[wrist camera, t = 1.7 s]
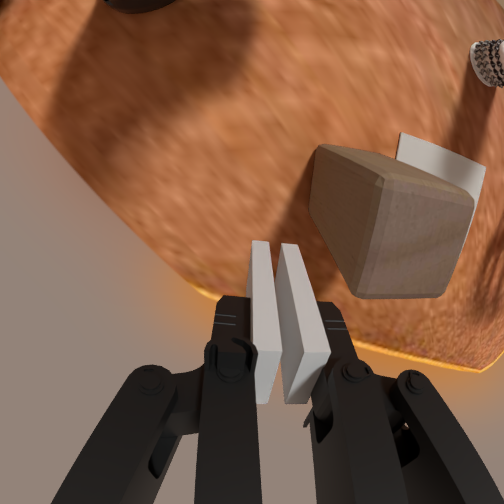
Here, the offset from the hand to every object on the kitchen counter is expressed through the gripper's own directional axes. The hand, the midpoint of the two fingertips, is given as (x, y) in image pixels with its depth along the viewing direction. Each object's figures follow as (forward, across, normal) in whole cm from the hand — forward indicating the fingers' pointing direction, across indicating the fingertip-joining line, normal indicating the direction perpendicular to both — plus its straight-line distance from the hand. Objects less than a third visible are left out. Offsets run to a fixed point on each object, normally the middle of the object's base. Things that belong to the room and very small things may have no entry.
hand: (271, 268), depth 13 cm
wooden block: (+25, +12, 0) cm, 27 cm away
